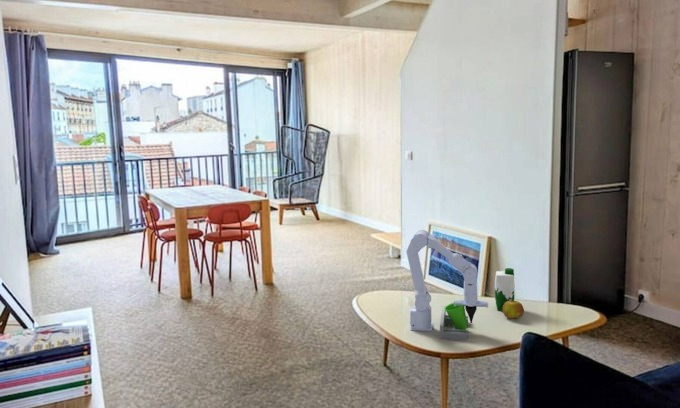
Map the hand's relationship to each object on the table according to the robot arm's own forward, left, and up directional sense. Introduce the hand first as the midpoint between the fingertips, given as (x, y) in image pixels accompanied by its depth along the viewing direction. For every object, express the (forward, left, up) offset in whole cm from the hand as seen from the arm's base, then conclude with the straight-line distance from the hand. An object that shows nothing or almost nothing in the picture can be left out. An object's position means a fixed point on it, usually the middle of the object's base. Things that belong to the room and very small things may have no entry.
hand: (471, 322), depth 216 cm
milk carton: (+16, +31, -4) cm, 35 cm away
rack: (-7, 0, -4) cm, 8 cm away
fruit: (+19, +19, -4) cm, 27 cm away
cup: (-4, 0, -4) cm, 5 cm away
